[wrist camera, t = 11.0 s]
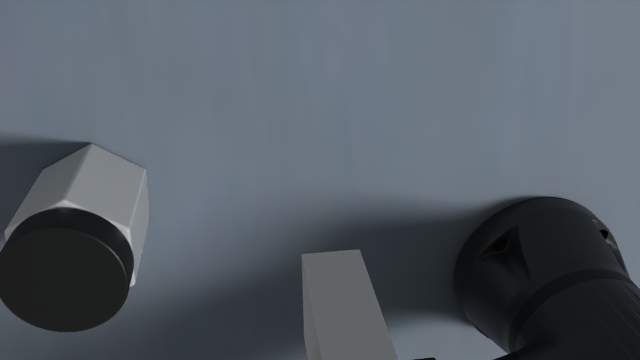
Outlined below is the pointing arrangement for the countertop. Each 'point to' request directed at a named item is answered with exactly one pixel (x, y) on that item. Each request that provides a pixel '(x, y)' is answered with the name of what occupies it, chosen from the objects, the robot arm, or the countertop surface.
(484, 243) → the robot arm
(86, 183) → the jar
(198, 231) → the countertop surface
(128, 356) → the countertop surface
